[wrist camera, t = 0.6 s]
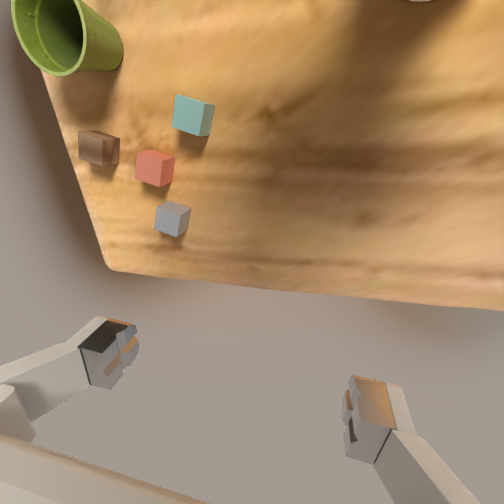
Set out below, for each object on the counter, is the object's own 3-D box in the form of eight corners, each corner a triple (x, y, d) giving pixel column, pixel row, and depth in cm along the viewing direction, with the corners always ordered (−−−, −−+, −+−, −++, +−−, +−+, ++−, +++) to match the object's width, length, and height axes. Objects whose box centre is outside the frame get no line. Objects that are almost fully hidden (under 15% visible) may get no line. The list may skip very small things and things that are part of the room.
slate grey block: (169, 200, 57) (156, 206, 53) (191, 208, 57) (180, 215, 52) (166, 221, 59) (154, 229, 55) (187, 228, 59) (176, 237, 55)
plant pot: (131, 2, 43) (76, -33, 34) (139, 88, 49) (92, 79, 39) (68, 0, 45) (-2, -34, 35) (82, 82, 51) (24, 73, 41)
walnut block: (97, 130, 54) (78, 131, 50) (120, 138, 54) (102, 139, 49) (97, 155, 56) (78, 158, 52) (119, 163, 56) (102, 166, 52)
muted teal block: (189, 96, 48) (175, 94, 43) (215, 105, 47) (204, 103, 43) (184, 126, 50) (171, 127, 46) (209, 135, 50) (198, 136, 45)
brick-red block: (152, 149, 53) (137, 152, 49) (175, 157, 53) (162, 160, 48) (149, 174, 56) (135, 178, 51) (172, 182, 55) (159, 187, 51)
